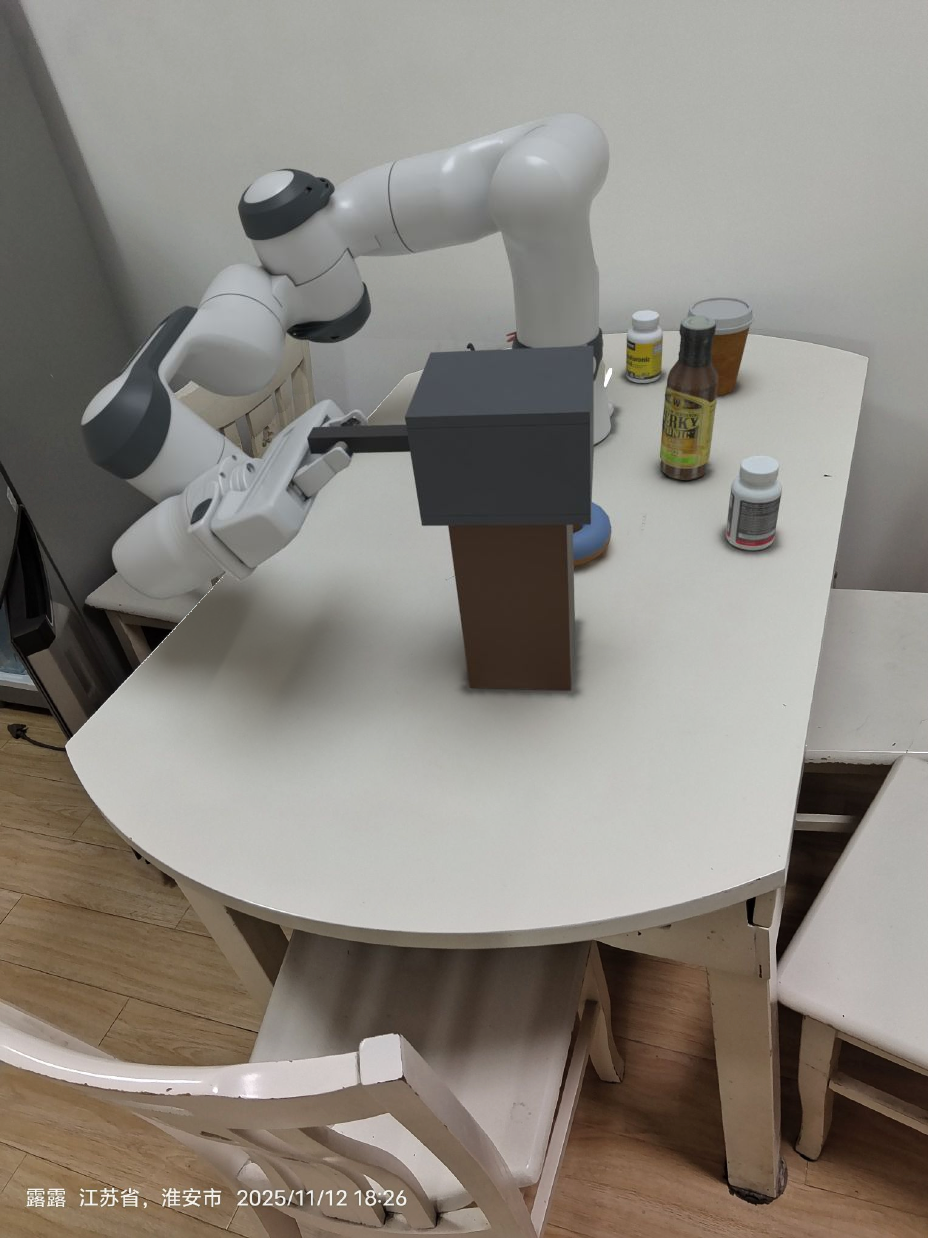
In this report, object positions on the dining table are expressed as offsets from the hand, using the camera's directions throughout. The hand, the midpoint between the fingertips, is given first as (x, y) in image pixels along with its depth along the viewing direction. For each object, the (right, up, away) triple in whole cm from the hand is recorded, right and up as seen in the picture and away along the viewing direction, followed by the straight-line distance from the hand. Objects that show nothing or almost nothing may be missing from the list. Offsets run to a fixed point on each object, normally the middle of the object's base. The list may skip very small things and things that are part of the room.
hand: (355, 434), depth 74 cm
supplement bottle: (+38, +22, +61) cm, 75 cm away
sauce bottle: (+38, +3, +38) cm, 54 cm away
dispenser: (+16, -20, +14) cm, 29 cm away
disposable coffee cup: (+47, +19, +56) cm, 75 cm away
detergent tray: (+8, -3, +1) cm, 8 cm away
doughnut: (+22, -8, +28) cm, 36 cm away
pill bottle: (+42, -7, +26) cm, 50 cm away
